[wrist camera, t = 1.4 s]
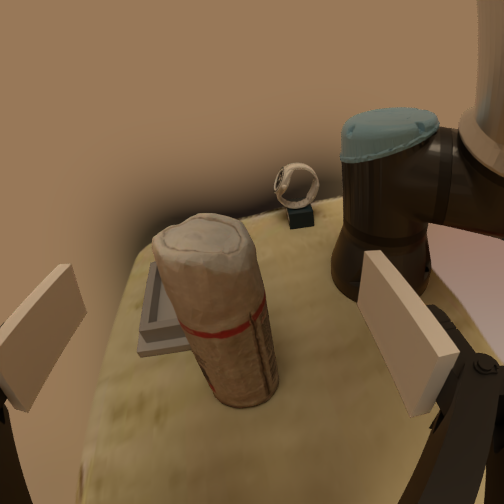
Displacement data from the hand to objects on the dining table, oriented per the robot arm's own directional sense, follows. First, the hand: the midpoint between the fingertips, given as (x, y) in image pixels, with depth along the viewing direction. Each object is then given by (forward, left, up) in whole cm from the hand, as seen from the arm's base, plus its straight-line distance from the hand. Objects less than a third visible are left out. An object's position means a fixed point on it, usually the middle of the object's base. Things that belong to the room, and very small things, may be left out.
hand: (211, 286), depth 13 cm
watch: (-12, -39, -23) cm, 47 cm away
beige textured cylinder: (+2, -9, -23) cm, 25 cm away
